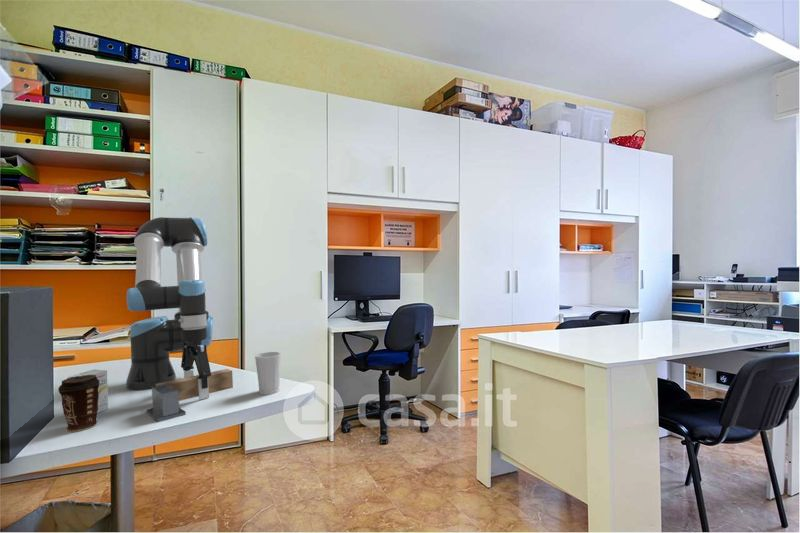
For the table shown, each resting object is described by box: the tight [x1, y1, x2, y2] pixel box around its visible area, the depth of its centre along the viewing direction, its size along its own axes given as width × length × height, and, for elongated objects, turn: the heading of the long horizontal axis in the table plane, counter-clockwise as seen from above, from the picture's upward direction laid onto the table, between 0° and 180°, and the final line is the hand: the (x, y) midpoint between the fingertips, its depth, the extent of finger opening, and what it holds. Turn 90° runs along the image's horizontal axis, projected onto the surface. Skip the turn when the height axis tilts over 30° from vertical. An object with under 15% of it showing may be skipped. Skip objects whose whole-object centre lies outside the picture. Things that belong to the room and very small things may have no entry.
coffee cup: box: [58, 375, 99, 433], centre depth 108 cm, size 9×8×13 cm
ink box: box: [66, 369, 109, 414], centre depth 118 cm, size 9×5×12 cm, turn 168°
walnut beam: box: [156, 368, 234, 402], centre depth 132 cm, size 22×4×6 cm, turn 135°
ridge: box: [145, 384, 187, 423], centre depth 116 cm, size 11×7×7 cm, turn 45°
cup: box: [254, 351, 282, 395], centre depth 133 cm, size 8×8×12 cm
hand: (196, 394), depth 132 cm, fingers open, 12 cm apart
